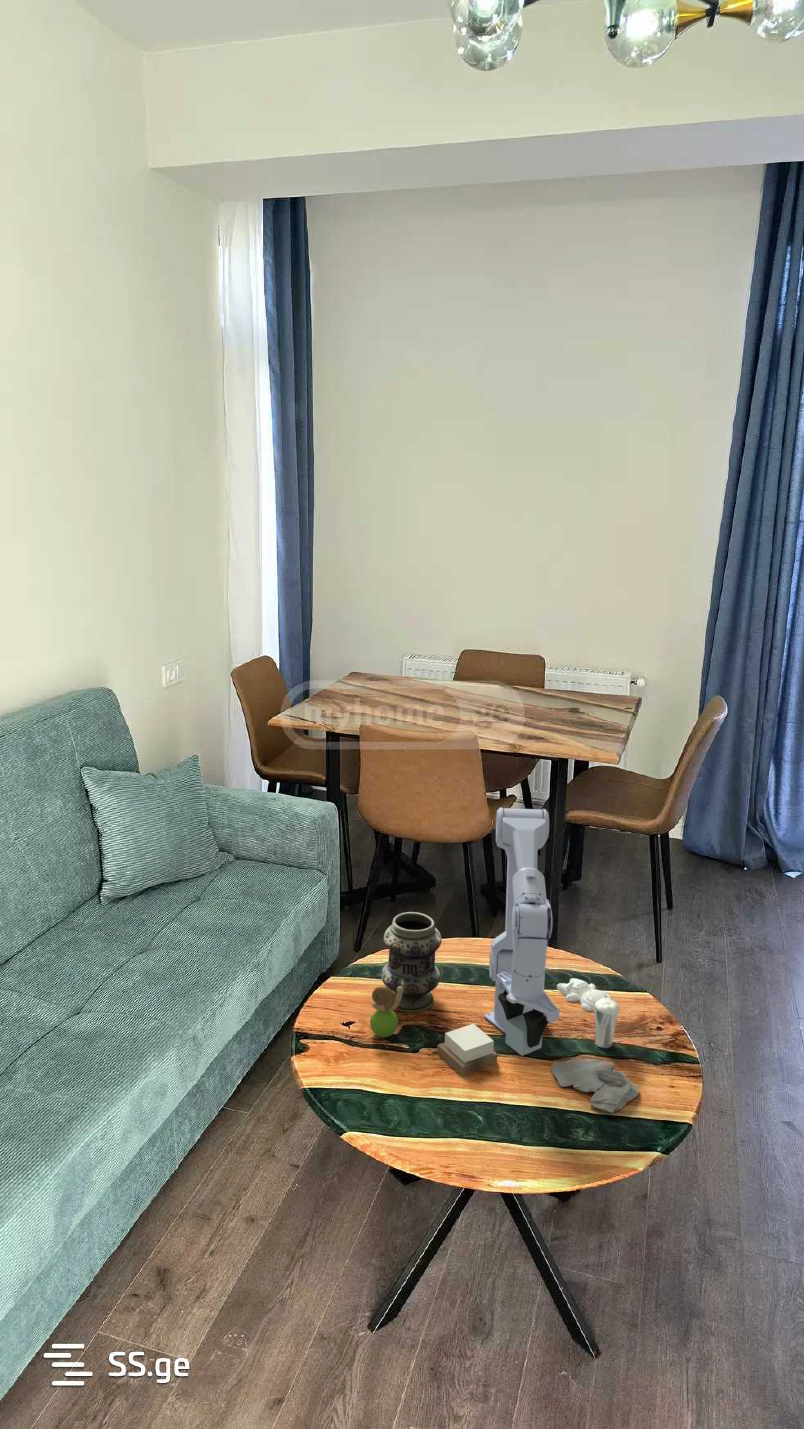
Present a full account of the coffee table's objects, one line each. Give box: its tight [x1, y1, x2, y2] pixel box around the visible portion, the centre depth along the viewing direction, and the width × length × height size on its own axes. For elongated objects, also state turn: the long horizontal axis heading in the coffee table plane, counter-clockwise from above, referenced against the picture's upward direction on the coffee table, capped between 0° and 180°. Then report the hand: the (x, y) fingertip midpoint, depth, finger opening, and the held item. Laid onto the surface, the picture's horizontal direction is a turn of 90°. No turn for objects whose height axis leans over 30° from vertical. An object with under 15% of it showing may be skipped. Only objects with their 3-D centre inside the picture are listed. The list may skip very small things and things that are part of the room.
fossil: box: [550, 1057, 639, 1113], centre depth 172 cm, size 17×11×2 cm
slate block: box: [505, 1014, 543, 1057], centre depth 168 cm, size 4×4×4 cm
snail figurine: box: [369, 981, 404, 1038], centre depth 183 cm, size 5×6×12 cm
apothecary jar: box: [380, 911, 443, 1014], centre depth 195 cm, size 12×12×18 cm
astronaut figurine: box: [556, 978, 612, 1013], centre depth 200 cm, size 9×12×3 cm
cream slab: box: [444, 1023, 495, 1063], centre depth 178 cm, size 6×6×2 cm
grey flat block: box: [436, 1041, 498, 1077], centre depth 178 cm, size 8×8×2 cm
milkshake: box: [592, 998, 620, 1049], centre depth 183 cm, size 5×5×10 cm
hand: (523, 1038), depth 168 cm, fingers closed on slate block, 4 cm apart
